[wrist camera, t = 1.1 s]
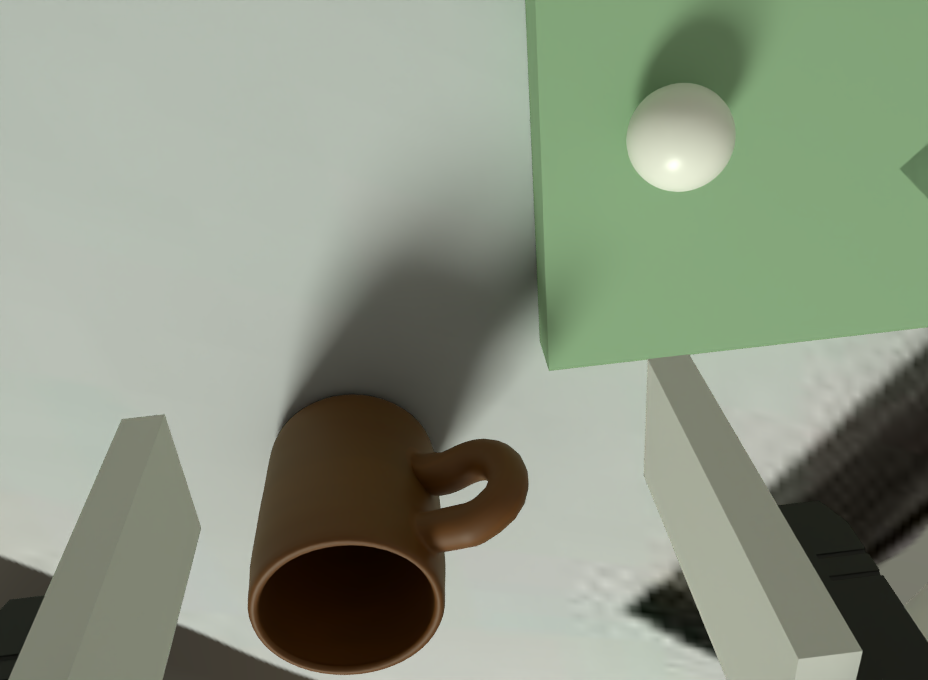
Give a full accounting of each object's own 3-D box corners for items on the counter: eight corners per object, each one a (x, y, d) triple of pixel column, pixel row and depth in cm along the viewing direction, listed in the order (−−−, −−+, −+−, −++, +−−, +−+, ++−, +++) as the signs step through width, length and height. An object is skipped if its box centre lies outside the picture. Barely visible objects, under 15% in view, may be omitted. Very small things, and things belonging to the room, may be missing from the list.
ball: (615, 76, 30) (643, 105, 27) (718, 65, 30) (757, 93, 27) (614, 175, 32) (640, 213, 29) (711, 165, 32) (746, 201, 29)
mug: (455, 306, 37) (477, 441, 29) (545, 423, 40) (586, 572, 32) (236, 441, 39) (198, 599, 31) (338, 539, 43) (328, 704, 35)
